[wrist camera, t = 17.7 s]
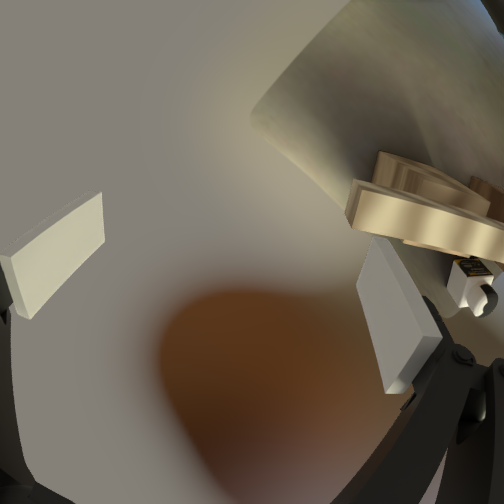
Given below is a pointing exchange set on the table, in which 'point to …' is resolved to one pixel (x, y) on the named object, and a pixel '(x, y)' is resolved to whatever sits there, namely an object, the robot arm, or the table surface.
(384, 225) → the wooden block
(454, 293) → the medicine bottle
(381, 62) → the table surface
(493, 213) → the stand
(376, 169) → the base pedestal
